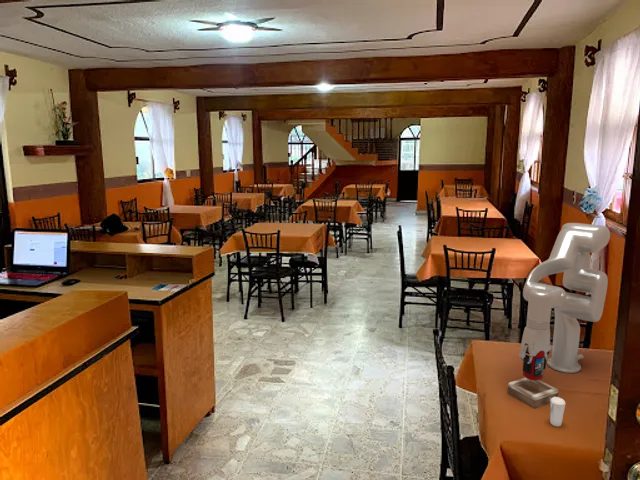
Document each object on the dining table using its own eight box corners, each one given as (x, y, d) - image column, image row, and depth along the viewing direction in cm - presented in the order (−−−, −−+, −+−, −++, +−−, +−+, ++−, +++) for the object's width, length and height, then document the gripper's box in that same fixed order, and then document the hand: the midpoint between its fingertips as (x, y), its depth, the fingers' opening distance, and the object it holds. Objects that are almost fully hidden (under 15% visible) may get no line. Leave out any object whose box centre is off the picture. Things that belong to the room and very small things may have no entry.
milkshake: (543, 420, 164) (545, 393, 162) (558, 419, 164) (561, 392, 162) (550, 428, 159) (553, 400, 158) (566, 427, 160) (568, 399, 158)
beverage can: (541, 383, 174) (543, 351, 171) (520, 378, 177) (523, 347, 175) (543, 376, 179) (546, 345, 177) (524, 371, 183) (526, 341, 180)
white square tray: (529, 385, 187) (530, 375, 186) (557, 400, 177) (558, 389, 176) (507, 393, 182) (508, 382, 181) (534, 408, 171) (535, 397, 171)
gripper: (545, 316, 181) (541, 361, 184) (512, 324, 173) (508, 371, 177) (563, 323, 174) (559, 369, 178) (529, 331, 167) (525, 379, 170)
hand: (534, 369), depth 177 cm, fingers closed on beverage can, 6 cm apart
